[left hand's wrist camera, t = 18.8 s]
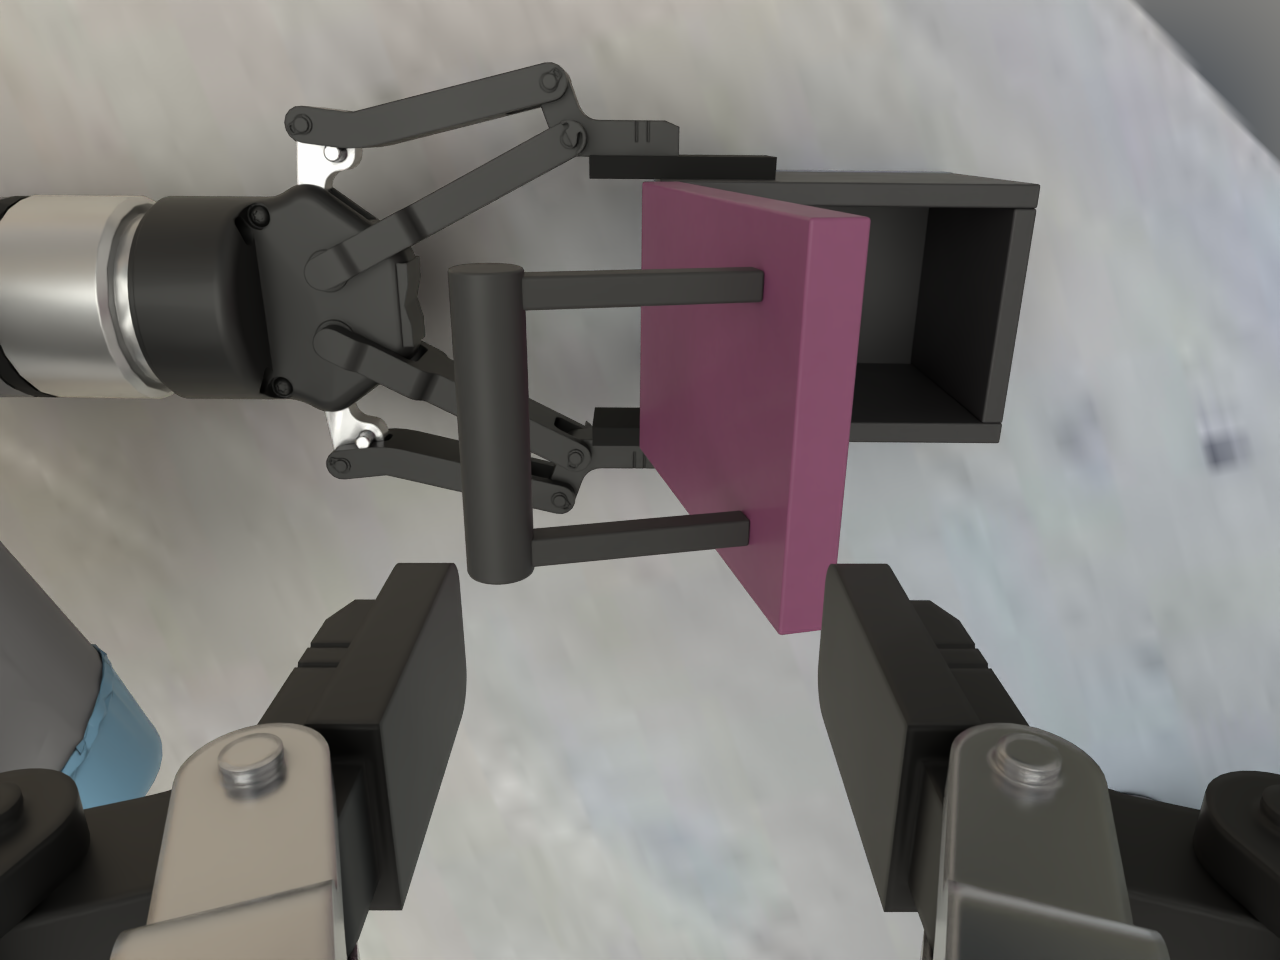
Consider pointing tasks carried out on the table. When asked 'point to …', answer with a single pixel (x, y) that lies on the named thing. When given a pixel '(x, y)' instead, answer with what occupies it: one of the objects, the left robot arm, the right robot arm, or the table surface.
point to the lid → (686, 393)
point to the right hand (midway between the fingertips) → (762, 303)
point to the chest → (926, 294)
